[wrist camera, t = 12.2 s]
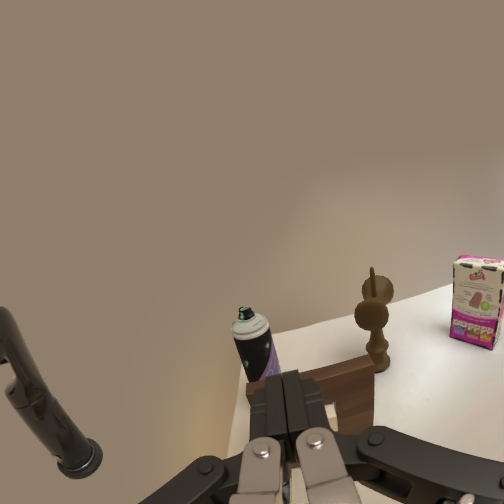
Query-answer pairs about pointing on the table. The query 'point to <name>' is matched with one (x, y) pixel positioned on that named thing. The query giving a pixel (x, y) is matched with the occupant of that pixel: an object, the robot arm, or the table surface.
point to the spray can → (255, 345)
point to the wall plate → (342, 393)
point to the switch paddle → (331, 416)
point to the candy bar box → (477, 300)
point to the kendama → (375, 317)
